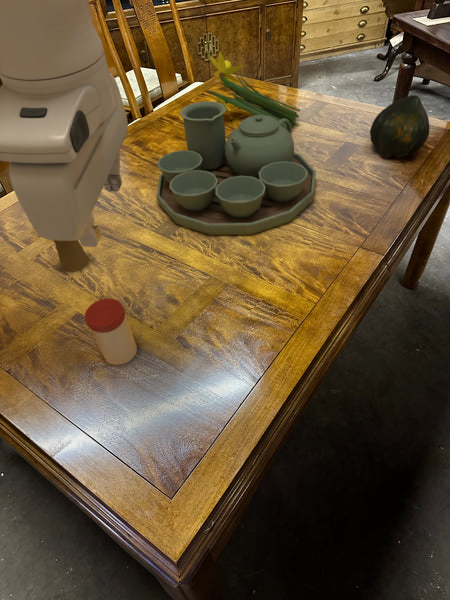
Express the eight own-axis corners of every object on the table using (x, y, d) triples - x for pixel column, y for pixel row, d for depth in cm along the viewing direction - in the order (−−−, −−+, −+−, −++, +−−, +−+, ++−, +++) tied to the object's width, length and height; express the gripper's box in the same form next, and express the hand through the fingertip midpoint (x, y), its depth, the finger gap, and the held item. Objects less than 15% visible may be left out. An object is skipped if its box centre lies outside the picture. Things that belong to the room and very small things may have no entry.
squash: (356, 140, 109) (407, 97, 99) (364, 119, 119) (411, 78, 109) (391, 178, 113) (444, 141, 102) (396, 154, 123) (444, 118, 112)
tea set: (129, 219, 102) (111, 155, 90) (204, 146, 126) (197, 88, 114) (284, 255, 88) (286, 185, 76) (335, 165, 112) (342, 102, 100)
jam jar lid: (84, 335, 64) (81, 328, 63) (90, 306, 69) (87, 300, 68) (124, 330, 65) (121, 324, 63) (126, 302, 69) (124, 295, 68)
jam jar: (102, 368, 71) (83, 330, 64) (106, 342, 75) (88, 303, 68) (136, 364, 71) (121, 325, 64) (138, 338, 75) (124, 298, 68)
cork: (74, 253, 94) (56, 212, 86) (95, 259, 92) (79, 217, 84) (56, 269, 90) (36, 228, 83) (77, 276, 88) (59, 234, 80)
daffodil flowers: (277, 145, 124) (181, 98, 131) (288, 150, 138) (200, 107, 145) (304, 87, 118) (202, 41, 125) (313, 98, 131) (220, 56, 139)
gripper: (66, 44, 44) (102, 160, 55) (-23, 155, 31) (46, 278, 42) (125, 44, 43) (149, 161, 54) (58, 157, 31) (107, 280, 41)
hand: (103, 213), depth 48 cm, fingers open, 8 cm apart
